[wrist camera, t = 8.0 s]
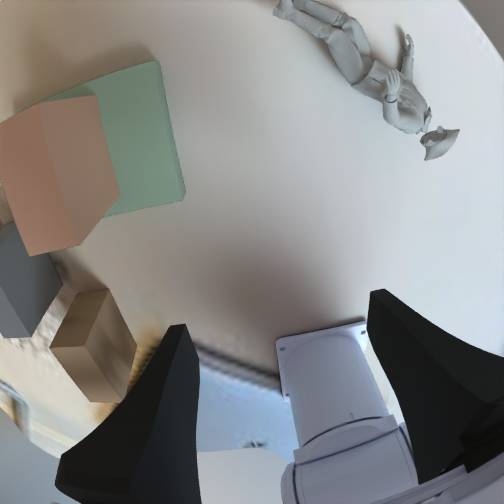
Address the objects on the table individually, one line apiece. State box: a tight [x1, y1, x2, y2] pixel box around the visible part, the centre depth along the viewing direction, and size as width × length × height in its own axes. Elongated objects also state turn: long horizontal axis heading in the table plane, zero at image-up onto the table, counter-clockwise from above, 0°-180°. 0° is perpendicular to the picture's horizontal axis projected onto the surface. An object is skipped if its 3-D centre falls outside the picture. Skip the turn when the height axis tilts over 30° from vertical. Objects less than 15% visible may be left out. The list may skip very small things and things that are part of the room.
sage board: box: [8, 60, 186, 218], centre depth 16 cm, size 8×10×2 cm
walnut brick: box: [49, 289, 137, 403], centre depth 20 cm, size 6×3×6 cm, turn 8°
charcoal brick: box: [0, 221, 63, 338], centre depth 17 cm, size 6×3×6 cm, turn 8°
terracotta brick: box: [0, 95, 121, 256], centre depth 12 cm, size 6×3×6 cm, turn 8°
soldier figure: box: [273, 0, 460, 161], centre depth 14 cm, size 8×5×12 cm
